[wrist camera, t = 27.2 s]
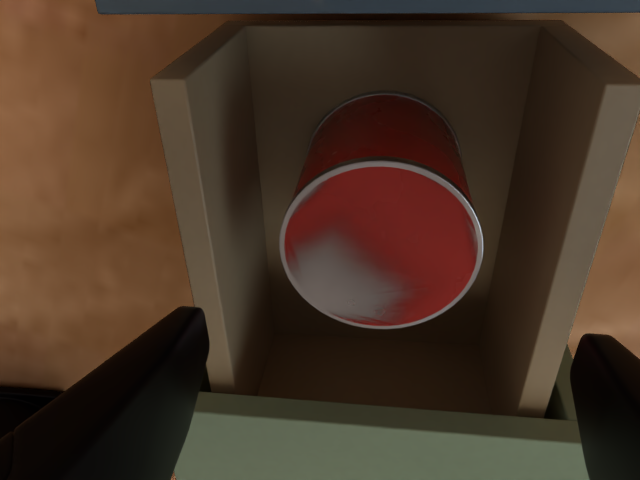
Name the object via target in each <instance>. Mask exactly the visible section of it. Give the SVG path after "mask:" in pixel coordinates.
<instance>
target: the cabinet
mask: <svg viewBox="0 0 640 480" xmlns="http://www.w3.org/2000/svg"><path fill="white" fill-rule="evenodd" d="M572 362H573V358H572V355H571V353H570V350H569V348H568V345H566V348H565V351H564V354H563V357H562V361H561V364H560V367H559V370H558V373H557V376H556V380H555V383H554V386H553V389H552V392H551V396H550V399H549V402H548V405H547V408H546V411H545V415H544V418H530V417H517V416H505V415H492V414H479V413H466V412H453V411H441V410H428V409H415V408H402V407H390V406H377V405H364V404H351V403H339V402H326V401H313V400H300V399H287V398H275V397H262V396H249V395H236V394H224V393H212V392H211V387H210V382H209V377H208V372H207V367H206V366H205V370H204V374H203V378H202V382H201V386H200V390H199V394H198V398H197V402H196V406H195V409H194V413H193V417H192V421H191V424H190V428H189V431H188V434H187V437H186V440H185V443H184V445H183V448H182V450H181V453H180V456H179V458H178V461H177V464H176V466H175V469H174V473H175V476H176V480H589V476H588V472H587V469H586V465H585V460H584V455H583V450H582V444H581V439H580V433H579V428H578V422H577V417H576V411H575V405H574V400H573V394H572V389H571V383H570V369H571V365H572Z"/></svg>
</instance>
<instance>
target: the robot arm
mask: <svg viewBox="0 0 640 480" xmlns="http://www.w3.org/2000/svg"><path fill="white" fill-rule="evenodd" d="M209 348H210V341H209V335H208V330H207V324H206V319H205V314H204V311H203V309H201V308H200V307H188V306H181V307H178V308H177V309H175V310H174V311H173V312H171V313H170V314H169V315H167V316H166V317H164V318H163V319H162V320H160V321H159V322H158V323H156V324H155V325H154V326H152V327H151V328H150V329H148V330H147V331H146V332H144V333H143V334H142V335H140V336H139V337H138V338H136V339H135V340H133V341H132V342H131V343H129V344H128V345H127V346H125V347H124V348H123V349H121V350H120V351H119V352H117V353H116V354H115V355H113V356H112V357H111V358H109V359H108V360H106V361H105V362H104V363H102V364H101V365H100V366H98V367H97V368H96V369H94V370H93V371H92V372H90V373H89V374H88V375H86V376H85V377H84V378H82V379H81V380H80V381H78V382H77V383H75V384H74V385H73V386H71V387H70V388H69V389H67V390H66V391H65V392H63V393H61V392H58V391H46V390H34V389H21V388H9V387H0V480H170V479H171V477H172V474H173V471H174V469H175V466H176V464H177V461H178V458H179V456H180V453H181V450H182V448H183V445H184V443H185V440H186V437H187V434H188V431H189V428H190V424H191V421H192V417H193V413H194V409H195V406H196V402H197V398H198V394H199V390H200V386H201V382H202V378H203V374H204V370H205V366H206V362H207V358H208V354H209ZM570 383H571V389H572V394H573V400H574V405H575V411H576V417H577V422H578V428H579V433H580V439H581V444H582V450H583V455H584V460H585V465H586V469H587V472H588V476H589V480H640V359H639V358H638V357H636V356H635V355H634V354H633V353H632V352H630V351H629V350H628V349H627V348H625V347H624V346H623V345H622V344H621V343H619V342H618V341H617V340H616V339H615V338H613V337H612V336H609V335H602V334H585V335H583V336H582V337H581V339H580V342H579V345H578V348H577V351H576V354H575V356H574V359H573V362H572V365H571V369H570Z"/></svg>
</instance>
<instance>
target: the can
mask: <svg viewBox="0 0 640 480" xmlns="http://www.w3.org/2000/svg"><path fill="white" fill-rule="evenodd" d="M483 249H484V244H483V234H482V229H481V225H480V221H479V218H478V216H477V213H476V211H475V208H474V207H473V203H472V199H471V195H470V191H469V187H468V183H467V179H466V175H465V171H464V167H463V163H462V154H461V149H460V145H459V141H458V138H457V136H456V133H455V131H454V129H453V128H452V126H451V124H450V123H449V121H448V120H447V119H446V118H445V116H444V115H443V114H442V113H441V112H440V111H439V110H437V109H436V108H435V107H434V106H432V105H431V104H429V103H428V102H426V101H424V100H422V99H421V98H419V97H416V96H413V95H411V94H408V93H403V92H398V91H388V90H383V91H372V92H366V93H362V94H359V95H356V96H353V97H351V98H349V99H347V100H345V101H343V102H342V103H340V104H338V105H337V106H335V107H334V108H333V109H332V110H331V111H330V112H328V113H327V114H326V116H325V117H324V118H323V119H322V120H321V121H320V123H319V124H318V126H317V127H316V129H315V131H314V133H313V135H312V137H311V140H310V143H309V146H308V149H307V155H306V160H305V162H304V165H303V168H302V171H301V174H300V177H299V180H298V183H297V186H296V189H295V192H294V195H293V198H292V201H291V202H290V204H289V206H288V208H287V210H286V213H285V216H284V219H283V222H282V225H281V229H280V236H279V251H280V257H281V261H282V264H283V268H284V270H285V273H286V275H287V277H288V279H289V281H290V282H291V284H292V285H293V287H294V288H295V290H296V291H297V292H298V293H299V294H300V295H301V296H302V298H304V299H305V300H306V301H307V302H308V303H309V304H310V305H311V306H313V307H314V308H316V309H317V310H318V311H320V312H322V313H323V314H325V315H327V316H329V317H331V318H333V319H335V320H337V321H340V322H343V323H346V324H349V325H352V326H357V327H362V328H369V329H398V328H404V327H409V326H413V325H417V324H420V323H423V322H426V321H428V320H431V319H433V318H435V317H437V316H439V315H440V314H442V313H444V312H445V311H447V310H448V309H450V308H451V307H452V306H454V305H455V304H456V303H457V302H458V301H459V300H460V299H461V298H462V297H463V296H464V295H465V294H466V293H467V291H468V290H469V289H470V287H471V286H472V284H473V282H474V281H475V279H476V277H477V274H478V272H479V270H480V266H481V263H482V259H483Z"/></svg>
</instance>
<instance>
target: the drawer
mask: <svg viewBox="0 0 640 480" xmlns="http://www.w3.org/2000/svg"><path fill="white" fill-rule="evenodd" d="M95 2H96V7H97V11H98V13H99V14H370V13H640V0H95ZM150 84H151V89H152V94H153V99H154V104H155V109H156V114H157V119H158V124H159V129H160V134H161V139H162V144H163V150H164V155H165V160H166V165H167V170H168V175H169V180H170V185H171V190H172V195H173V200H174V205H175V210H176V215H177V220H178V225H179V230H180V235H181V241H182V246H183V251H184V256H185V261H186V266H187V271H188V276H189V281H190V286H191V291H192V296H193V301H194V306H195V307H200V308H201V309H203V311H204V314H205V319H206V324H207V330H208V335H209V341H210V348H209V354H208V358H207V362H206V367H207V372H208V377H209V382H210V387H211V392H212V393H224V394H236V395H249V396H262V397H275V398H287V399H300V400H313V401H326V402H339V403H351V404H364V405H377V406H390V407H402V408H415V409H428V410H441V411H453V412H466V413H479V414H492V415H505V416H517V417H530V418H544V415H545V411H546V408H547V405H548V402H549V399H550V396H551V392H552V389H553V386H554V383H555V380H556V376H557V373H558V370H559V367H560V364H561V361H562V357H563V354H564V351H565V348H566V345H567V341H568V338H569V335H570V332H571V329H572V326H573V322H574V319H575V316H576V313H577V310H578V306H579V303H580V300H581V297H582V294H583V291H584V287H585V284H586V281H587V278H588V275H589V271H590V268H591V265H592V262H593V259H594V256H595V252H596V249H597V246H598V243H599V240H600V236H601V233H602V230H603V227H604V224H605V221H606V217H607V214H608V211H609V208H610V205H611V201H612V198H613V195H614V192H615V189H616V186H617V182H618V179H619V176H620V173H621V170H622V166H623V163H624V160H625V157H626V154H627V151H628V147H629V144H630V141H631V138H632V135H633V131H634V128H635V125H636V122H637V119H638V116H639V112H640V78H638V77H637V76H636V75H634V74H633V73H632V72H630V71H629V70H628V69H626V68H625V67H624V66H622V65H621V64H620V63H618V62H617V61H616V60H614V59H613V58H612V57H610V56H609V55H608V54H606V53H605V52H604V51H602V50H601V49H599V48H598V47H597V46H595V45H594V44H593V43H591V42H590V41H589V40H587V39H586V38H585V37H583V36H582V35H581V34H579V33H578V32H577V31H575V30H574V29H573V28H571V27H570V26H568V25H567V24H566V23H564V22H563V21H561V20H378V21H227V22H225V23H224V24H223V25H221V26H220V27H219V28H217V29H216V30H215V31H213V32H212V33H211V34H209V35H208V36H207V37H205V38H204V39H203V40H201V41H200V42H199V43H198V44H196V45H195V46H194V47H192V48H191V49H190V50H188V51H187V52H186V53H184V54H183V55H182V56H180V57H179V58H178V59H176V60H175V61H174V62H172V63H171V64H170V65H168V66H167V67H166V68H164V69H163V70H162V71H160V72H159V73H158V74H156V75H155V76H154V77H152V78H151V79H150ZM383 90H388V91H398V92H403V93H408V94H411V95H413V96H416V97H419V98H421V99H422V100H424V101H426V102H428V103H429V104H431V105H432V106H434V107H435V108H436V109H437V110H439V111H440V112H441V113H442V114H443V115H444V116H445V118H446V119H447V120H448V121H449V123H450V124H451V126H452V128H453V129H454V131H455V133H456V136H457V138H458V141H459V145H460V149H461V154H462V163H463V167H464V171H465V175H466V179H467V183H468V187H469V191H470V195H471V199H472V203H473V207H474V208H475V211H476V213H477V216H478V218H479V221H480V225H481V229H482V234H483V244H484V249H483V259H482V263H481V266H480V270H479V272H478V274H477V277H476V279H475V281H474V282H473V284H472V286H471V287H470V289H469V290H468V291H467V293H466V294H465V295H464V296H463V297H462V298H461V299H460V300H459V301H458V302H457V303H456V304H455V305H454V306H452V307H451V308H450V309H448V310H447V311H445V312H444V313H442V314H440V315H439V316H437V317H435V318H433V319H431V320H428V321H426V322H423V323H420V324H417V325H413V326H409V327H404V328H398V329H369V328H362V327H357V326H352V325H349V324H346V323H343V322H340V321H337V320H335V319H333V318H331V317H329V316H327V315H325V314H323V313H322V312H320V311H318V310H317V309H316V308H314V307H313V306H311V305H310V304H309V303H308V302H307V301H306V300H305V299H304V298H302V296H301V295H300V294H299V293H298V292H297V291H296V290H295V288H294V287H293V285H292V284H291V282H290V281H289V279H288V277H287V275H286V273H285V270H284V268H283V264H282V261H281V257H280V251H279V236H280V229H281V225H282V222H283V219H284V216H285V213H286V210H287V208H288V206H289V204H290V202H291V201H292V198H293V195H294V192H295V189H296V186H297V183H298V180H299V177H300V174H301V171H302V168H303V165H304V162H305V160H306V155H307V149H308V146H309V143H310V140H311V137H312V135H313V133H314V131H315V129H316V127H317V126H318V124H319V123H320V121H321V120H322V119H323V118H324V117H325V116H326V114H327V113H328V112H330V111H331V110H332V109H333V108H334V107H335V106H337V105H338V104H340V103H342V102H343V101H345V100H347V99H349V98H351V97H353V96H356V95H359V94H362V93H366V92H372V91H383Z"/></svg>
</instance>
